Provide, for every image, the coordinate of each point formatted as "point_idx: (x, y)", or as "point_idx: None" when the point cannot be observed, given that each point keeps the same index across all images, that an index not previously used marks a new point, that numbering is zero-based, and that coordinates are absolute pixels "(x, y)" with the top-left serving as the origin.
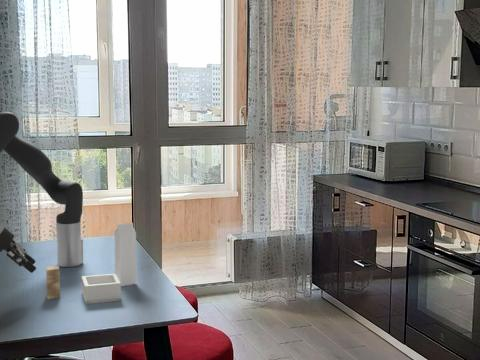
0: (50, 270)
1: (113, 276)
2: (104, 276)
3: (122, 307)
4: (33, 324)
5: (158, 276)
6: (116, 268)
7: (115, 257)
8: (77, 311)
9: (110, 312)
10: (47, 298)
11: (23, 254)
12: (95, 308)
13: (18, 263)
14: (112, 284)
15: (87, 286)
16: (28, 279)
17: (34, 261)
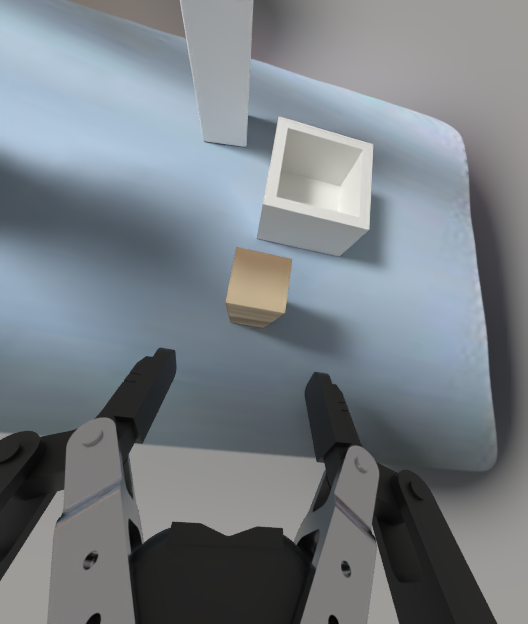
0: (286, 297)
1: (306, 132)
2: (283, 150)
3: (384, 200)
4: (427, 395)
5: None
6: (211, 90)
7: (194, 32)
8: (377, 286)
9: (404, 230)
10: (262, 327)
11: (354, 522)
12: (372, 247)
13: (407, 532)
14: (370, 164)
15: (369, 224)
16: (13, 340)
17: (172, 355)
